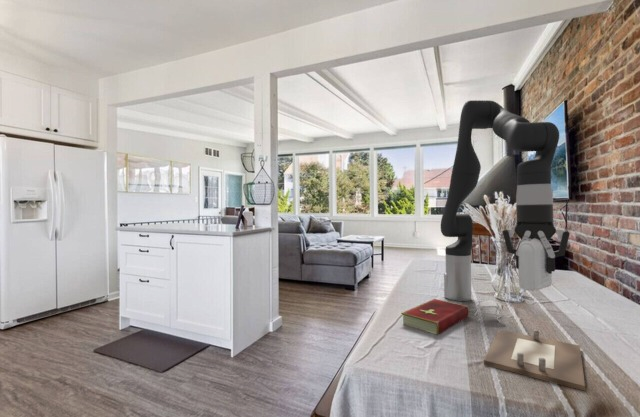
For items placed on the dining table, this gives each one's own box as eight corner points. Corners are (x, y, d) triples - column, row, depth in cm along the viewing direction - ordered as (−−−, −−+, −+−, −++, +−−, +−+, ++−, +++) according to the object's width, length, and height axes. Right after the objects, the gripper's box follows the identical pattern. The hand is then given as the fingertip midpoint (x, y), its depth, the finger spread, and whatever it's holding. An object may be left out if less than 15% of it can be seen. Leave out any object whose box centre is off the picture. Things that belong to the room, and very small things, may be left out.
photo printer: (535, 283, 83) (534, 235, 83) (554, 286, 80) (553, 236, 80) (516, 289, 77) (515, 238, 77) (536, 292, 74) (535, 239, 74)
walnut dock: (483, 364, 74) (483, 349, 74) (498, 332, 91) (498, 320, 91) (584, 390, 63) (584, 373, 63) (579, 349, 80) (579, 335, 80)
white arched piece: (502, 326, 96) (502, 310, 96) (472, 320, 101) (472, 305, 101) (508, 315, 105) (508, 300, 105) (481, 310, 111) (481, 296, 111)
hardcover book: (469, 318, 104) (468, 305, 104) (438, 336, 90) (437, 322, 90) (434, 309, 113) (434, 297, 113) (401, 325, 99) (401, 312, 99)
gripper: (498, 203, 80) (500, 271, 80) (571, 202, 71) (573, 278, 71) (502, 204, 86) (504, 266, 86) (570, 202, 77) (571, 272, 77)
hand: (535, 271), depth 78 cm, fingers closed on photo printer, 5 cm apart
